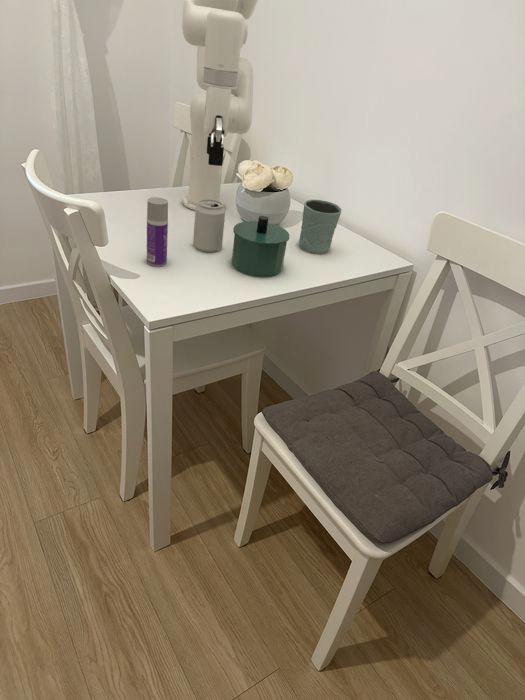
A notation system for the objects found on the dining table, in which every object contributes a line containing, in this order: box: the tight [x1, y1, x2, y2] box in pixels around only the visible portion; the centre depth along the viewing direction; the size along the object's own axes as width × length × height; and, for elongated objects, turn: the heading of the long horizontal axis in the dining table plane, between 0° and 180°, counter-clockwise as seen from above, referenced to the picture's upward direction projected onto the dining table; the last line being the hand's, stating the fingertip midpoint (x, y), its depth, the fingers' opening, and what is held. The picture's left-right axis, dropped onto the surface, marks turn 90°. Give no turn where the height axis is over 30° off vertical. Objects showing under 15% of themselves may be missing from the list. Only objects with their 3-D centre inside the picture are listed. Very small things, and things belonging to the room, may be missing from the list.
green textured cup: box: [298, 199, 342, 255], centre depth 138 cm, size 10×10×12 cm
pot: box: [231, 233, 288, 278], centre depth 125 cm, size 13×13×8 cm
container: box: [146, 196, 169, 268], centre depth 117 cm, size 5×5×15 cm
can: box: [192, 199, 226, 253], centre depth 129 cm, size 8×8×12 cm
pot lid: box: [232, 215, 290, 245], centre depth 122 cm, size 14×14×5 cm
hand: (214, 159), depth 120 cm, fingers open, 9 cm apart
